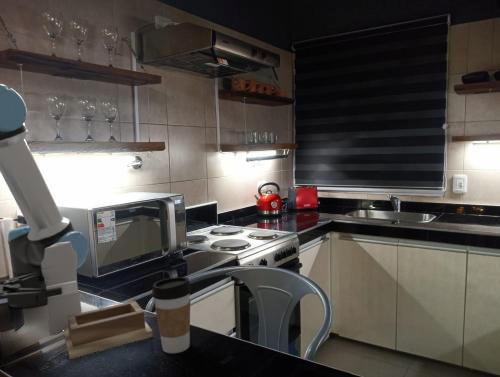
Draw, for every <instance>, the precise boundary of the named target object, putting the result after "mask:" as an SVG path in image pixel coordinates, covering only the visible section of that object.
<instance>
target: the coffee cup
mask: <svg viewBox="0 0 500 377" xmlns="http://www.w3.org/2000/svg"><path fill="white" fill-rule="evenodd" d="M191 293H192V287H191V284H190V279H189V278H188V277H187V276H186V277H185V276H183V277H182V276H181V277H180V276H179V277H170V278H164V279H160V280H158V281H155V282H154V283H153V284H152V291H151V294H152V295H151V296H152V297H153V298H154V302H155V303H154V309H155V314H156V319H157V320H156V321H157V325H158V331H159V335H160V341H161V347H162V350H163V352H165V353H166V354H178V353H182V352H184V351H186V350H188V349H189V347H190V344H191V343H190V340H191V339H190V337H191V336H190V333H191V332H190V330H191V327H190V326H191V299H190V296H191V295H190V294H191Z"/></svg>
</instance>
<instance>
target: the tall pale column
mask: <svg viewBox="0 0 500 377" xmlns="http://www.w3.org/2000/svg"><path fill="white" fill-rule="evenodd" d="M76 267H77V253H76V252H75V251H74V250H73V248H72V245H71V242H59V243H56V244H54V245H52V246H50V247H47V248H45V253H44V259H43V261H42V262H41V268H42V275H43V277H44V278H45V279H46V280H45V283H46V284H45V285H46V286H51V285H56V284H61V283H67V282H72V281H76V283H77V293H72V294H67V295H62V296H57V297H52V298H47V299H48V303H47V304H46V305H47V306H46V309H47V310H46V311H47V320H48V327H49V328H48V330H49V335H50V336H55V335H59V334H60V332H61V333H62V331H63V330H64V329H67V328H69V327H68V318H67V316H69V315H74V314H78V313H83V311H82V303H81V296H80V294H81V293H80V291H79V289H78V287H79V286H78V275H77V274H78V273H77V272H78V270H77V269H76ZM63 332H64V331H63Z"/></svg>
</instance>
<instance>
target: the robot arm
mask: <svg viewBox="0 0 500 377" xmlns="http://www.w3.org/2000/svg"><path fill="white" fill-rule="evenodd" d="M27 115H28V111H27V106H26V103H25V101H24V99H23V98H22V96H21V95H20V94H19V93H18V92H17V91H16V90H14V89H13V88H11V87H10V86H8V85H5V84H1V83H0V174H1V176H2V178H3V179H4V182H5V184H6V185H7V187H8V190H9V191H10V193H11V195H12V197H13V199H14V201H15V202H16V204H17V206H18V208H19V210H20V212H21V214H22V216H23V218H24V220H25V221H26V224H27V226H23V227H17V228H13V229H10V230H9V231H8V233H7V234H8V239H7V240H8V241H7V244H8V250H9V255H10V265H11V272H12V278H10V279H4V280H1V281H0V308H2V307H6V306H10V307H12V308H17V309H18V308H20V309H21V308H22V309H26V308H33V307H38V306H43V305H47V304H48V299H47V298H52V297H57V296H62V295H67V294H72V293H77V286H78V285H77V283H78V282H77V283H76V281H72V282H67V283H61V284H56V285H51V286H46V285H45V284H46V283H45V280H46V279H45V278H44V277H43V275H42V268H41V262H42V261H43V259H44V253H45V248H47V247H50V246H52V245H54V244H56V243H59V242H71V245H72V248H73V250H74V251H75V252H76V253H77V267H76V270H77V269H79V268H80V267H81V266H82V265H83V264H84V263H85V261H86V259H87V256H88V254H89V249H90V248H89V240H88V238H87V237H86V235H85V234H83V233H82V232H81V231H78V230H75V228H74V226H73V223H72V222H71V220H70V218H68V217H65V216H63V215H62V214H61V212H60V210H59V208H58V206H57V203H56V202H55V200H54V197H53V196H52V194H51V192H50V189H49V187H48V185H47V183H46V181H45V179H44V176H43V174H42V172H41V170H40V168H39V166H38V163H37V162H36V160H35V157H34V156H33V155H34V154H32V151H31V149H30V147H29V144H28V143H27V141H26V139H25V138H26V135H27V133H28V128H27V126H26V124H25V121H26V120H27V118H26V116H27Z"/></svg>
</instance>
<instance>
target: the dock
mask: <svg viewBox="0 0 500 377" xmlns="http://www.w3.org/2000/svg"><path fill="white" fill-rule="evenodd" d="M67 318H68V327H69V328H67V329H64V331H63V336H65V337H64V339H65V340H64V341H65V345H66V349H67V353H68V357H69V360H73V359H74V360H75V359H78V358H80V356H81V357H85V356H88V355H87V354H89V355H91V354H90V353H92V354H94V353H93V352H96V353H98V352H97V351H100V352H102V351H101V350H103V351H105V350H104V349H107V348H110V349H112V348H111V347H114V348H116V347H115V346H118V347H120V346H119V345H121V346H124V345H123V344H125V345H127V344H126V343H129V344H131V343H130V342H132V343H135V342H134V341H136V342H139V340H140V341H143V340H147V339H150V337H151V338H154V335H153V334H154V333H153V330H152V328H151V327H150V326H149V324H148V323H147V322H146V320H145V311H144V310H143V309H142V308H141V306H140V305H139V304H138V303H137V301H136V300H132V301H127V302H123V303H119V304H115V305H111V306H105V307H99V308H95V309H91V310H87V311H82V313H78V314H74V315H69V316H67ZM107 350H108V349H107ZM84 355H85V356H84ZM77 357H78V358H77Z"/></svg>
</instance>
